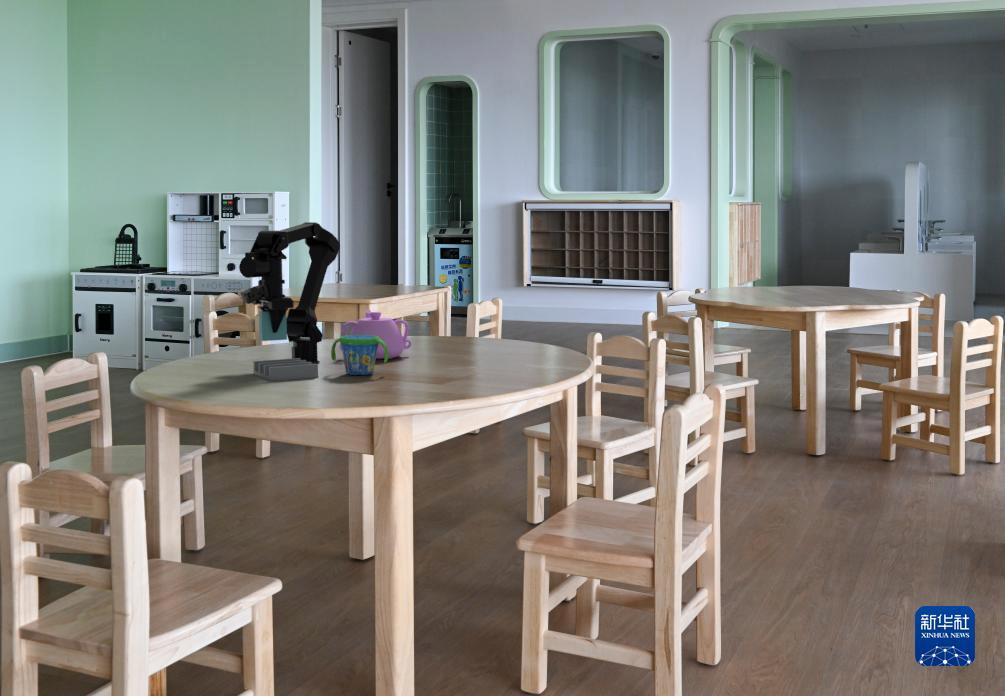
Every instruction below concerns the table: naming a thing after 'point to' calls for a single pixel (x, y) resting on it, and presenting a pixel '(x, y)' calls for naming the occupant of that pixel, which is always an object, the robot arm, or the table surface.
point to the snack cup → (359, 353)
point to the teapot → (381, 333)
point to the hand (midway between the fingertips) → (273, 332)
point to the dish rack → (285, 369)
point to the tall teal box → (266, 328)
